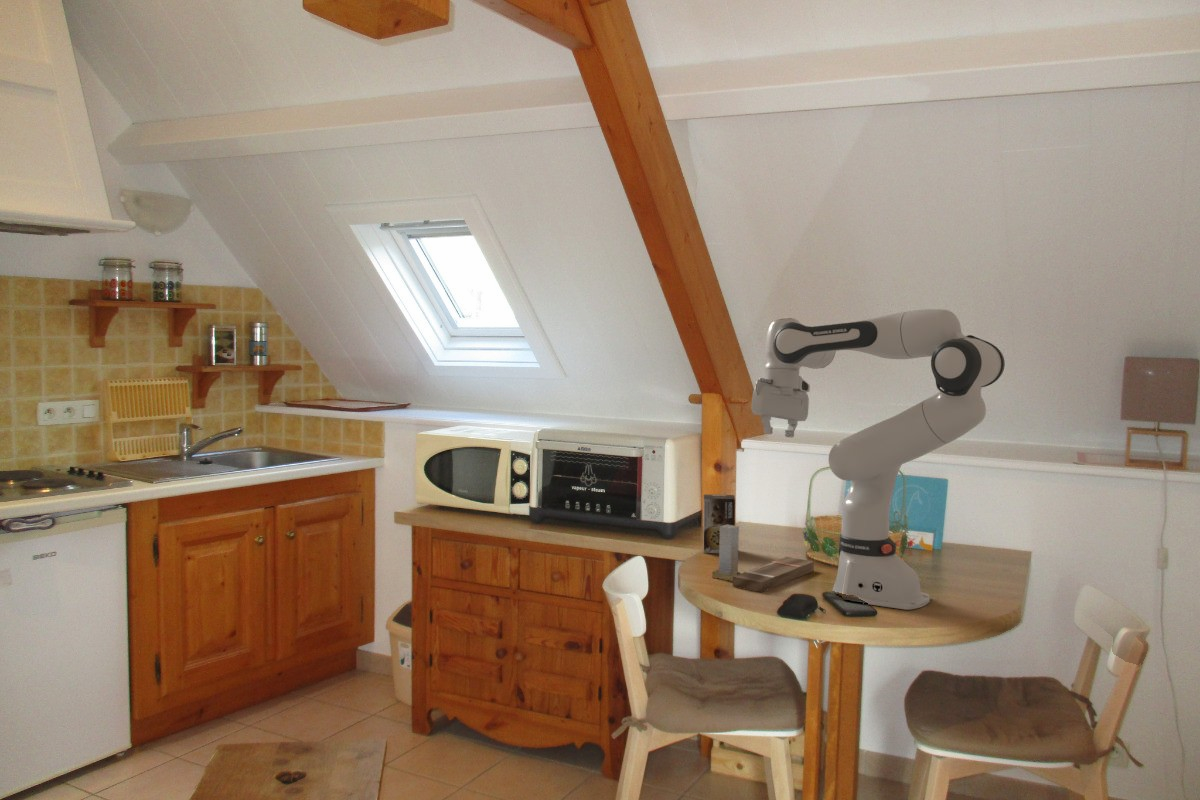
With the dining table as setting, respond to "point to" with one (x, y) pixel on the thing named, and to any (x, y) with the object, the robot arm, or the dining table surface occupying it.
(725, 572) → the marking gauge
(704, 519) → the coffee box
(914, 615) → the dining table surface
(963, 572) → the dining table surface
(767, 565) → the walnut board
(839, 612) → the dining table surface
